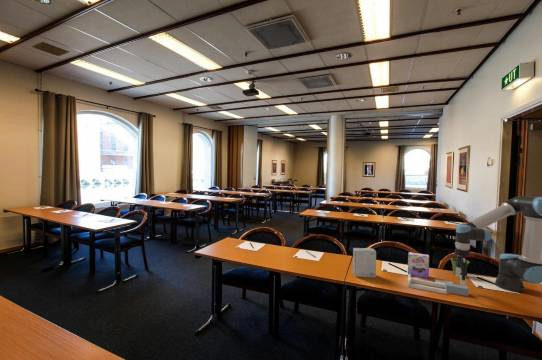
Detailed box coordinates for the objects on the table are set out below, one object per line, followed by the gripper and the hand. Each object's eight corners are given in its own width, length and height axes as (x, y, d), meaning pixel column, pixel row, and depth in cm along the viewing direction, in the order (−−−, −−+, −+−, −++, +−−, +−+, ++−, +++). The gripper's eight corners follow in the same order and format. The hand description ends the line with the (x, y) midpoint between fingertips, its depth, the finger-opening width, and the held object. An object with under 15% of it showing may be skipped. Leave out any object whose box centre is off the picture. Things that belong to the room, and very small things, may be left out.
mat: (452, 282, 185) (452, 282, 185) (455, 289, 175) (455, 288, 175) (434, 279, 190) (434, 279, 190) (436, 285, 180) (436, 284, 180)
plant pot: (472, 276, 197) (473, 262, 197) (462, 278, 193) (462, 264, 192) (456, 271, 208) (456, 257, 208) (446, 272, 204) (446, 258, 203)
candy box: (407, 274, 198) (408, 253, 198) (407, 272, 204) (408, 251, 203) (428, 278, 192) (429, 256, 191) (428, 275, 197) (428, 254, 197)
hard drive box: (373, 273, 199) (373, 248, 198) (376, 278, 192) (376, 251, 191) (352, 272, 201) (353, 247, 200) (354, 276, 193) (355, 250, 192)
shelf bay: (443, 287, 178) (443, 280, 177) (446, 294, 168) (446, 286, 167) (408, 281, 187) (408, 274, 187) (408, 287, 177) (408, 279, 177)
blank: (466, 293, 169) (466, 286, 169) (468, 296, 165) (468, 288, 165) (444, 289, 175) (445, 282, 174) (446, 292, 170) (446, 285, 170)
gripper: (451, 243, 181) (450, 273, 181) (459, 252, 158) (457, 286, 159) (464, 244, 177) (463, 275, 178) (474, 255, 155) (472, 289, 156)
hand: (460, 280), depth 169 cm, fingers open, 13 cm apart
